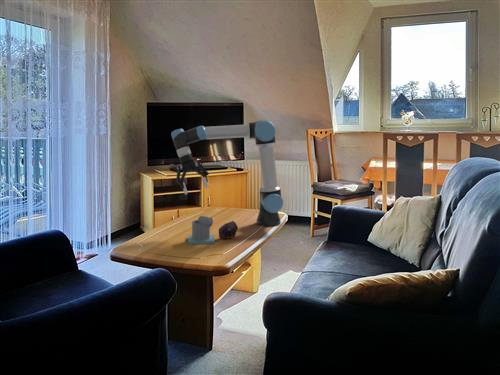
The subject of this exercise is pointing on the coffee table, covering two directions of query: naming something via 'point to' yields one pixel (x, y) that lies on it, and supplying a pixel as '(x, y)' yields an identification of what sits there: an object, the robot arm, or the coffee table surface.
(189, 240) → the teal lid with knob
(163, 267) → the coffee table surface
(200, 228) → the elbow
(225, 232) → the rock
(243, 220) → the coffee table surface
